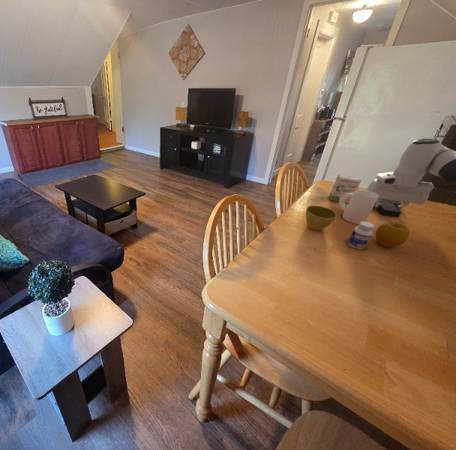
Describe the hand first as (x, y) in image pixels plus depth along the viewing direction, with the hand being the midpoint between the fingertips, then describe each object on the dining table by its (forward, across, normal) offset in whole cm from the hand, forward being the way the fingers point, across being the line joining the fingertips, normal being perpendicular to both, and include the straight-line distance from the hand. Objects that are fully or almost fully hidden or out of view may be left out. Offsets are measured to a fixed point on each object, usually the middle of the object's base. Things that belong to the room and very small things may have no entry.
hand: (387, 208), depth 109 cm
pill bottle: (+2, +20, +35) cm, 41 cm away
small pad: (+1, 0, -2) cm, 2 cm away
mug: (+2, +17, +12) cm, 21 cm away
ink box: (+2, +17, -6) cm, 18 cm away
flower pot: (+2, +32, +27) cm, 42 cm away
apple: (+2, +10, +31) cm, 33 cm away
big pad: (+1, 0, -11) cm, 11 cm away
